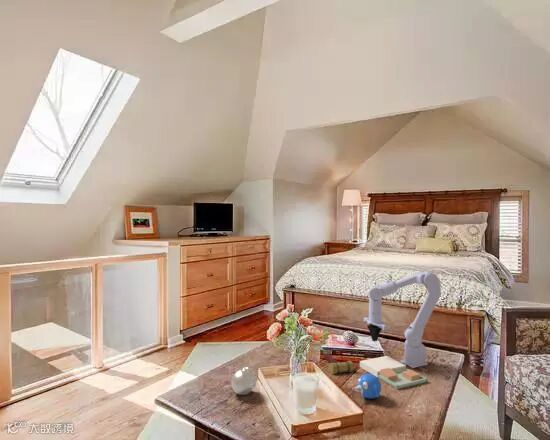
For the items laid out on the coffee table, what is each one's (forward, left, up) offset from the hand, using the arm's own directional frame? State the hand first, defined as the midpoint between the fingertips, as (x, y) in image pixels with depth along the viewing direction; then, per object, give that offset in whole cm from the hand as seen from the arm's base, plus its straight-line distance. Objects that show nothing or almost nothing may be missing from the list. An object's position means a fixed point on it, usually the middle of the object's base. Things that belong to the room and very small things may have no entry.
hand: (374, 340), depth 169 cm
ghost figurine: (+68, +6, -10) cm, 69 cm away
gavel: (+21, -4, -10) cm, 23 cm away
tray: (+3, +21, -9) cm, 23 cm away
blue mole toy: (+27, +27, -10) cm, 39 cm away
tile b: (+8, +18, -8) cm, 21 cm away
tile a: (-1, +22, -7) cm, 23 cm away
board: (+3, +9, -9) cm, 13 cm away
